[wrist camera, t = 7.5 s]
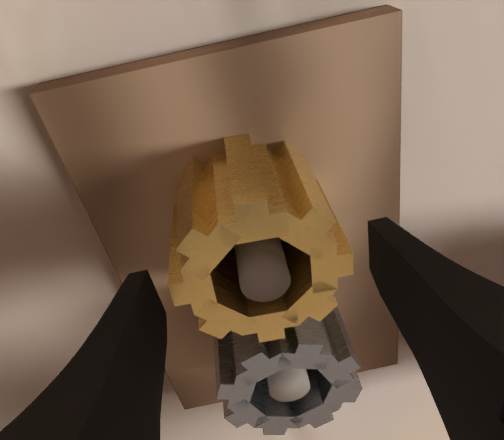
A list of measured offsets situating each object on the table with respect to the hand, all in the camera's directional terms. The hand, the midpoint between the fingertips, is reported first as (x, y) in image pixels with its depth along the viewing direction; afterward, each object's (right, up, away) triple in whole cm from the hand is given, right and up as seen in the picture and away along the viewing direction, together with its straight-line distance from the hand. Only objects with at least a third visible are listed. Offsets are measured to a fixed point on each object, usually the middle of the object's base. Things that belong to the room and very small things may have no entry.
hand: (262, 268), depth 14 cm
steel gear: (+1, -3, +6) cm, 7 cm away
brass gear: (-1, +2, +3) cm, 4 cm away
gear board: (0, 0, +6) cm, 6 cm away
